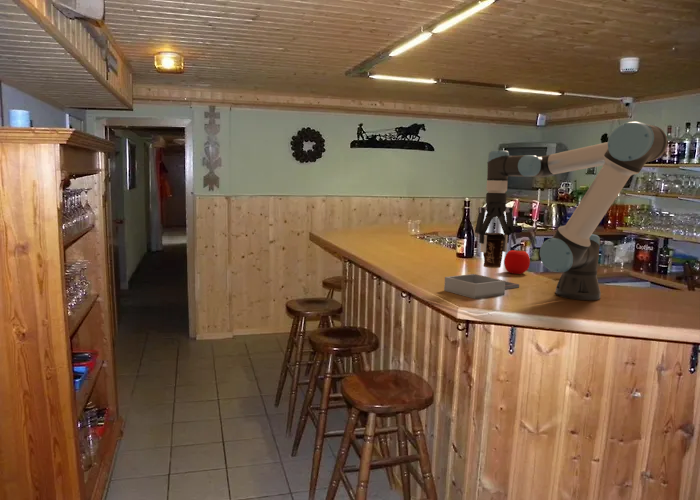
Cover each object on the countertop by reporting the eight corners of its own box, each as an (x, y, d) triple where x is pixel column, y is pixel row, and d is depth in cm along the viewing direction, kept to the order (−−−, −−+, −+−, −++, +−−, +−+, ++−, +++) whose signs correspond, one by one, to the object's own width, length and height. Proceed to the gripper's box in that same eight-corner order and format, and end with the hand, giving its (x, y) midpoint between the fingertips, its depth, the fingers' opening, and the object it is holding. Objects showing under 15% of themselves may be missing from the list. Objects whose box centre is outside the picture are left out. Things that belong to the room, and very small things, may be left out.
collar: (519, 287, 208) (519, 284, 208) (492, 291, 199) (492, 287, 199) (489, 280, 220) (489, 277, 220) (462, 283, 212) (462, 280, 212)
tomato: (498, 271, 242) (500, 247, 240) (517, 270, 246) (519, 247, 245) (514, 276, 232) (516, 251, 231) (533, 275, 236) (535, 250, 235)
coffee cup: (482, 264, 215) (484, 231, 213) (504, 266, 212) (506, 232, 210) (479, 267, 206) (481, 233, 205) (502, 269, 204) (504, 234, 202)
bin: (504, 294, 194) (505, 280, 194) (474, 298, 186) (475, 284, 185) (473, 286, 207) (473, 273, 206) (444, 290, 198) (444, 277, 198)
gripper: (514, 192, 212) (511, 249, 215) (466, 191, 205) (464, 251, 208) (526, 192, 205) (523, 252, 208) (477, 192, 198) (474, 253, 201)
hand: (493, 251), depth 208 cm, fingers closed on coffee cup, 8 cm apart
